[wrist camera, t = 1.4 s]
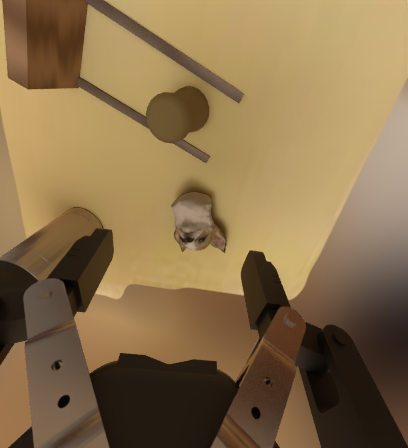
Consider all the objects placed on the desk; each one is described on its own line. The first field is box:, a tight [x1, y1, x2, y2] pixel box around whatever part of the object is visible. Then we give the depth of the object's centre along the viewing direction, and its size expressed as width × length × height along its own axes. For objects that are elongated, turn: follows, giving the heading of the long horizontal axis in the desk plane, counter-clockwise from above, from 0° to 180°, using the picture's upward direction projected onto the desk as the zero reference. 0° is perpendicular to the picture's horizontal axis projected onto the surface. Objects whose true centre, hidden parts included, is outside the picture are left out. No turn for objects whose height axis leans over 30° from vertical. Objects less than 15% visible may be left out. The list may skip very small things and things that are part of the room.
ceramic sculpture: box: [171, 192, 226, 253], centre depth 39 cm, size 11×9×15 cm
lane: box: [2, 0, 244, 163], centre depth 27 cm, size 12×26×9 cm, turn 62°
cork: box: [146, 87, 209, 143], centre depth 27 cm, size 6×6×11 cm
